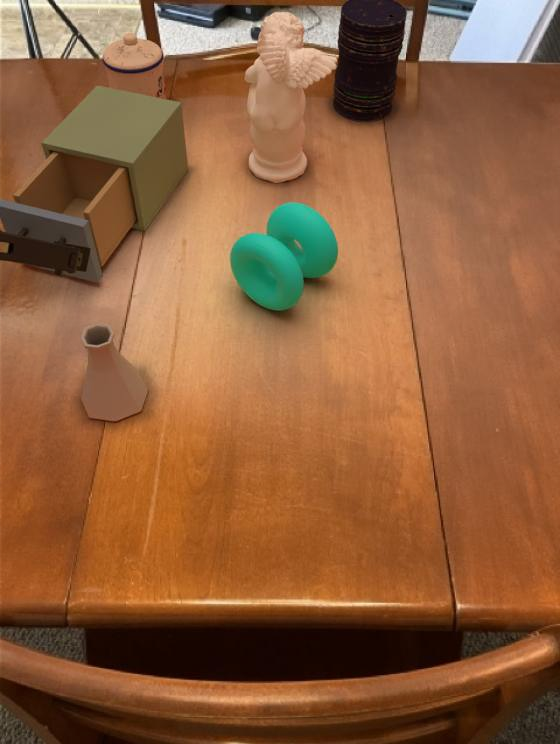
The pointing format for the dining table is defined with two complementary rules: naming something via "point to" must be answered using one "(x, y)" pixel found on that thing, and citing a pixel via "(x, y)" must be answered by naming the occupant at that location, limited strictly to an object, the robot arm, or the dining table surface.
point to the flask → (109, 378)
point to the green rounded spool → (284, 256)
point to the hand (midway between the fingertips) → (32, 245)
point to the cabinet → (128, 142)
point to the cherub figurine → (281, 96)
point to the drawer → (74, 207)
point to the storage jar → (368, 58)
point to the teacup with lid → (135, 66)
